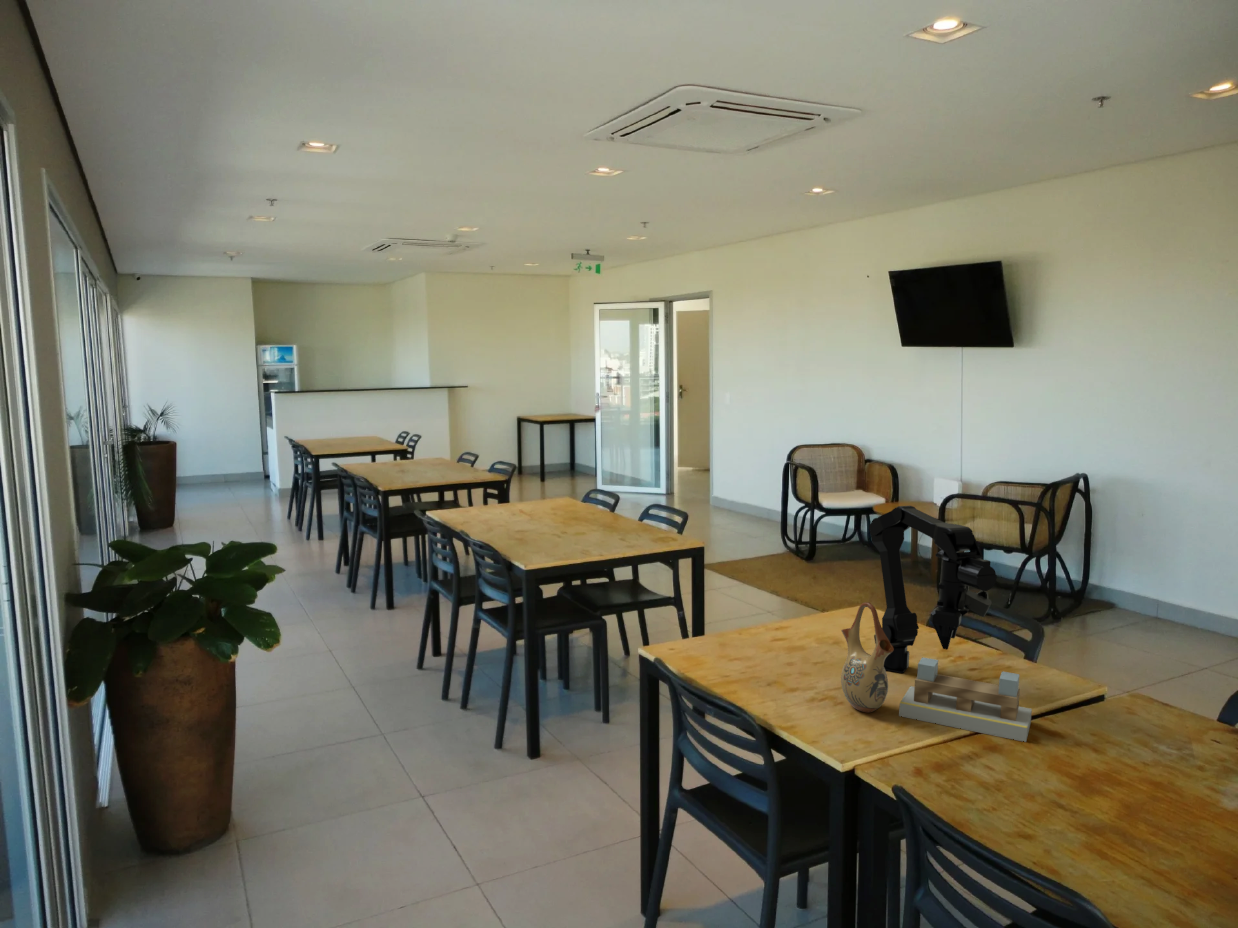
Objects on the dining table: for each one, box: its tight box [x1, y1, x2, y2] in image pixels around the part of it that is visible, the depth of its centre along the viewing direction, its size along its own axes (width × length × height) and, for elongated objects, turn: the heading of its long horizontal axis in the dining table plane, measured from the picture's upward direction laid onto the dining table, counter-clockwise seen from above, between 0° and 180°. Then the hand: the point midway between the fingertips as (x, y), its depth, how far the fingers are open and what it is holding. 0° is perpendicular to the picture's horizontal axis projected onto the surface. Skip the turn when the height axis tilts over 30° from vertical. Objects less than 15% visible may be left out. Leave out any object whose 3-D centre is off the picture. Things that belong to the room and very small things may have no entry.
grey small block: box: [916, 657, 939, 682], centre depth 198 cm, size 4×5×4 cm
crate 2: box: [998, 671, 1020, 697], centre depth 189 cm, size 4×5×4 cm
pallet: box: [914, 673, 1021, 721], centre depth 194 cm, size 21×6×5 cm, turn 61°
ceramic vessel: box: [840, 601, 894, 713], centre depth 198 cm, size 16×9×25 cm, turn 22°
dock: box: [898, 686, 1033, 743], centre depth 194 cm, size 26×12×3 cm, turn 61°
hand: (948, 643), depth 207 cm, fingers open, 9 cm apart
